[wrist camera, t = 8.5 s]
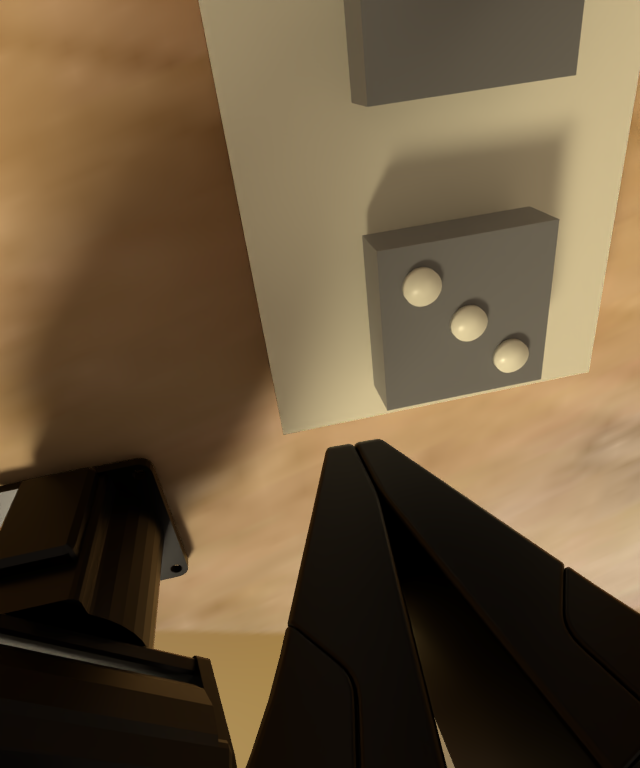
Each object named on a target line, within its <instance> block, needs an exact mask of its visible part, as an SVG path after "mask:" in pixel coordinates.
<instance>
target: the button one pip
mask: <svg viewBox="0 0 640 768" xmlns="http://www.w3.org/2000/svg"><path fill="white" fill-rule="evenodd" d="M343 1H344V13H345V26H346V39H347V51H348V64H349V76H350V89H351V102H352V103H354V104H358V105H362V106H365V107H371V106H377V105H384V104H390V103H397V102H403V101H410V100H416V99H423V98H429V97H436V96H443V95H449V94H456V93H462V92H469V91H475V90H482V89H488V88H495V87H502V86H508V85H515V84H521V83H528V82H534V81H541V80H547V79H554V78H560V77H567V76H574V75H576V71H577V63H578V54H579V45H580V37H581V28H582V19H583V11H584V2H585V0H343Z"/></svg>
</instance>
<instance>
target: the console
mask: <svg viewBox="0 0 640 768" xmlns="http://www.w3.org/2000/svg"><path fill="white" fill-rule="evenodd" d="M198 2H199V7H200V12H201V17H202V23H203V28H204V33H205V38H206V43H207V48H208V53H209V58H210V63H211V68H212V73H213V79H214V84H215V89H216V94H217V99H218V104H219V109H220V114H221V119H222V124H223V130H224V135H225V140H226V145H227V150H228V155H229V160H230V165H231V170H232V175H233V180H234V186H235V191H236V196H237V201H238V206H239V211H240V216H241V221H242V226H243V231H244V237H245V242H246V247H247V252H248V257H249V262H250V267H251V272H252V277H253V282H254V288H255V293H256V298H257V303H258V308H259V313H260V318H261V323H262V328H263V333H264V338H265V344H266V349H267V354H268V359H269V364H270V369H271V374H272V379H273V384H274V389H275V394H276V399H277V404H278V409H279V414H280V419H281V424H282V429H283V434H284V435H285V434H290V433H295V432H300V431H305V430H310V429H315V428H319V427H324V426H329V425H334V424H339V423H344V422H349V421H353V420H358V419H363V418H368V417H373V416H378V415H383V414H388V413H392V412H397V411H402V410H407V409H412V408H417V407H422V406H426V405H431V404H436V403H441V402H446V401H451V400H456V399H461V398H465V397H470V396H475V395H480V394H485V393H490V392H495V391H500V390H504V389H509V388H514V387H519V386H524V385H529V384H534V383H538V382H543V381H548V380H553V379H558V378H563V377H568V376H573V375H577V374H582V373H587V372H589V368H590V362H591V356H592V350H593V344H594V338H595V332H596V326H597V320H598V314H599V309H600V303H601V297H602V291H603V285H604V279H605V273H606V267H607V261H608V255H609V249H610V243H611V237H612V231H613V226H614V220H615V214H616V208H617V202H618V196H619V190H620V184H621V178H622V172H623V166H624V160H625V154H626V148H627V143H628V137H629V131H630V125H631V119H632V113H633V107H634V101H635V95H636V89H637V83H638V77H639V71H640V0H585V2H584V11H583V19H582V28H581V37H580V45H579V54H578V63H577V71H576V75H574V76H567V77H560V78H554V79H547V80H541V81H534V82H528V83H521V84H515V85H508V86H502V87H495V88H488V89H482V90H475V91H469V92H462V93H456V94H449V95H443V96H436V97H429V98H423V99H416V100H410V101H403V102H397V103H390V104H384V105H377V106H371V107H365V106H362V105H358V104H354V103H352V102H351V89H350V76H349V64H348V51H347V39H346V26H345V13H344V1H343V0H198ZM528 206H530V207H532V208H535V209H537V210H539V211H542V212H544V213H546V214H548V215H551V216H553V217H555V218H558V219H559V227H558V236H557V245H556V254H555V262H554V271H553V280H552V288H551V297H550V306H549V315H548V323H547V332H546V341H545V349H544V358H543V367H542V376H541V379H540V380H535V381H530V382H525V383H520V384H515V385H510V386H505V387H501V388H496V389H491V390H486V391H481V392H476V393H471V394H466V395H461V396H457V397H452V398H447V399H442V400H437V401H432V402H427V403H422V404H418V405H413V406H408V407H403V408H398V409H393V410H388V411H387V409H386V407H385V405H384V403H383V402H382V400H381V398H380V396H379V394H378V392H377V390H376V388H375V386H374V380H373V367H372V354H371V342H370V329H369V317H368V304H367V291H366V279H365V266H364V253H363V241H362V235H367V234H373V233H379V232H385V231H390V230H396V229H402V228H408V227H413V226H419V225H425V224H431V223H436V222H442V221H448V220H453V219H459V218H465V217H471V216H476V215H482V214H488V213H494V212H499V211H505V210H511V209H517V208H522V207H528Z"/></svg>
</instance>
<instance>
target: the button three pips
mask: <svg viewBox="0 0 640 768" xmlns="http://www.w3.org/2000/svg"><path fill="white" fill-rule="evenodd" d="M558 227H559V219H558V218H555V217H553V216H551V215H548V214H546V213H544V212H542V211H539V210H537V209H535V208H532V207H530V206H528V207H522V208H517V209H511V210H505V211H499V212H494V213H488V214H482V215H476V216H471V217H465V218H459V219H453V220H448V221H442V222H436V223H431V224H425V225H419V226H413V227H408V228H402V229H396V230H390V231H385V232H379V233H373V234H367V235H362V241H363V253H364V266H365V279H366V291H367V304H368V317H369V329H370V342H371V354H372V367H373V380H374V386H375V388H376V390H377V392H378V394H379V396H380V398H381V400H382V402H383V403H384V405H385V407H386V409H387V411H388V410H393V409H398V408H403V407H408V406H413V405H418V404H422V403H427V402H432V401H437V400H442V399H447V398H452V397H457V396H461V395H466V394H471V393H476V392H481V391H486V390H491V389H496V388H501V387H505V386H510V385H515V384H520V383H525V382H530V381H535V380H540V379H541V376H542V367H543V358H544V349H545V341H546V332H547V323H548V315H549V306H550V297H551V288H552V280H553V271H554V262H555V254H556V245H557V236H558Z"/></svg>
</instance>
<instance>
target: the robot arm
mask: <svg viewBox="0 0 640 768" xmlns="http://www.w3.org/2000/svg"><path fill="white" fill-rule="evenodd" d="M135 470H143V471H145V472H144V473H137V472H135ZM175 565H178V566H175ZM187 570H188V558H187V555H186V552H185V550H184V547H183V544H182V542H181V539H180V536H179V534H178V531H177V528H176V526H175V523H174V520H173V517H172V515H171V512H170V509H169V507H168V504H167V501H166V499H165V496H164V493H163V491H162V488H161V485H160V482H159V480H158V477H157V474H156V472H155V469H154V466H153V464H152V463H151V462H150V461H149V460H147V459H143V458H136V459H131V460H127V461H122V462H117V463H112V464H107V465H102V466H97V467H92V468H83V469H78V470H73V471H68V472H63V473H58V474H53V475H49V476H44V477H39V478H34V479H29V480H25V481H23V482H19V483H14V484H9V485H4V486H0V768H237V765H236V760H235V754H234V750H233V746H232V743H231V739H230V735H229V731H228V727H227V723H226V719H225V715H224V711H223V708H222V704H221V700H220V696H219V693H218V688H217V685H216V681H215V677H214V673H213V669H212V665H211V661H210V659H208V658H203V657H199V656H194V657H193V658H191V657H186V656H182V655H178V654H173V653H169V652H165V651H161V650H156V649H154V638H155V628H156V617H157V607H158V597H159V586H160V580H165V579H169V578H173V577H178V576H181V575H184V574H185V573H186V572H187ZM434 717H435V718H434ZM435 720H436V722H437V725H438V727H439V729H440V732H441V735H442V737H443V739H444V742H445V744H446V747H447V749H448V752H449V754H450V757H451V759H452V762H453V764H454V767H455V768H640V613H638V612H636V611H635V610H633V609H632V608H630V607H629V606H627V605H626V604H624V603H623V602H621V601H620V600H618V599H616V598H615V597H613V596H612V595H610V594H609V593H607V592H606V591H604V590H603V589H601V588H599V587H598V586H596V585H595V584H593V583H592V582H591V581H589V580H588V579H586V578H585V577H583V576H582V575H580V574H579V573H577V572H576V571H574V570H573V569H571V568H570V567H566V568H565V569H564V564H563V563H562V562H561V561H559V560H558V559H556V558H555V557H553V556H552V555H550V554H549V553H548V552H546V551H545V550H543V549H542V548H540V547H539V546H537V545H536V544H534V543H533V542H531V541H530V540H528V539H527V538H525V537H524V536H523V535H521V534H520V533H518V532H517V531H515V530H514V529H512V528H511V527H509V526H508V525H506V524H505V523H503V522H502V521H501V520H499V519H498V518H496V517H495V516H493V515H492V514H490V513H489V512H487V511H486V510H484V509H483V508H481V507H480V506H479V505H477V504H476V503H474V502H473V501H471V500H470V499H468V498H467V497H465V496H464V495H462V494H461V493H459V492H458V491H456V490H455V489H454V488H452V487H451V486H449V485H448V484H446V483H445V482H443V481H442V480H440V479H439V478H437V477H436V476H434V475H433V474H432V473H430V472H429V471H427V470H426V469H424V468H423V467H421V466H420V465H418V464H417V463H415V462H414V461H412V460H411V459H409V458H408V457H407V456H405V455H404V454H402V453H401V452H399V451H398V450H396V449H395V448H393V447H392V446H390V445H389V444H387V443H386V442H385V441H383V440H381V439H374V440H369V441H363V442H358V443H356V444H355V446H353V445H351V444H346V445H340V446H334V447H330V448H328V449H327V450H326V453H325V458H324V462H323V467H322V471H321V476H320V480H319V485H318V489H317V494H316V498H315V503H314V507H313V512H312V516H311V521H310V525H309V530H308V534H307V539H306V543H305V548H304V552H303V557H302V561H301V566H300V570H299V575H298V579H297V584H296V588H295V593H294V597H293V602H292V606H291V611H290V615H289V620H288V628H287V629H286V632H285V636H284V640H283V645H282V650H281V654H280V658H279V662H278V666H277V670H276V673H275V677H274V681H273V685H272V689H271V693H270V696H269V700H268V703H267V706H266V709H265V712H264V715H263V719H262V722H261V725H260V728H259V731H258V734H257V737H256V740H255V743H254V746H253V749H252V752H251V755H250V758H249V760H248V763H247V766H246V768H447V766H446V762H445V758H444V754H443V750H442V746H441V742H440V738H439V734H438V730H437V726H436V722H435Z"/></svg>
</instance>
